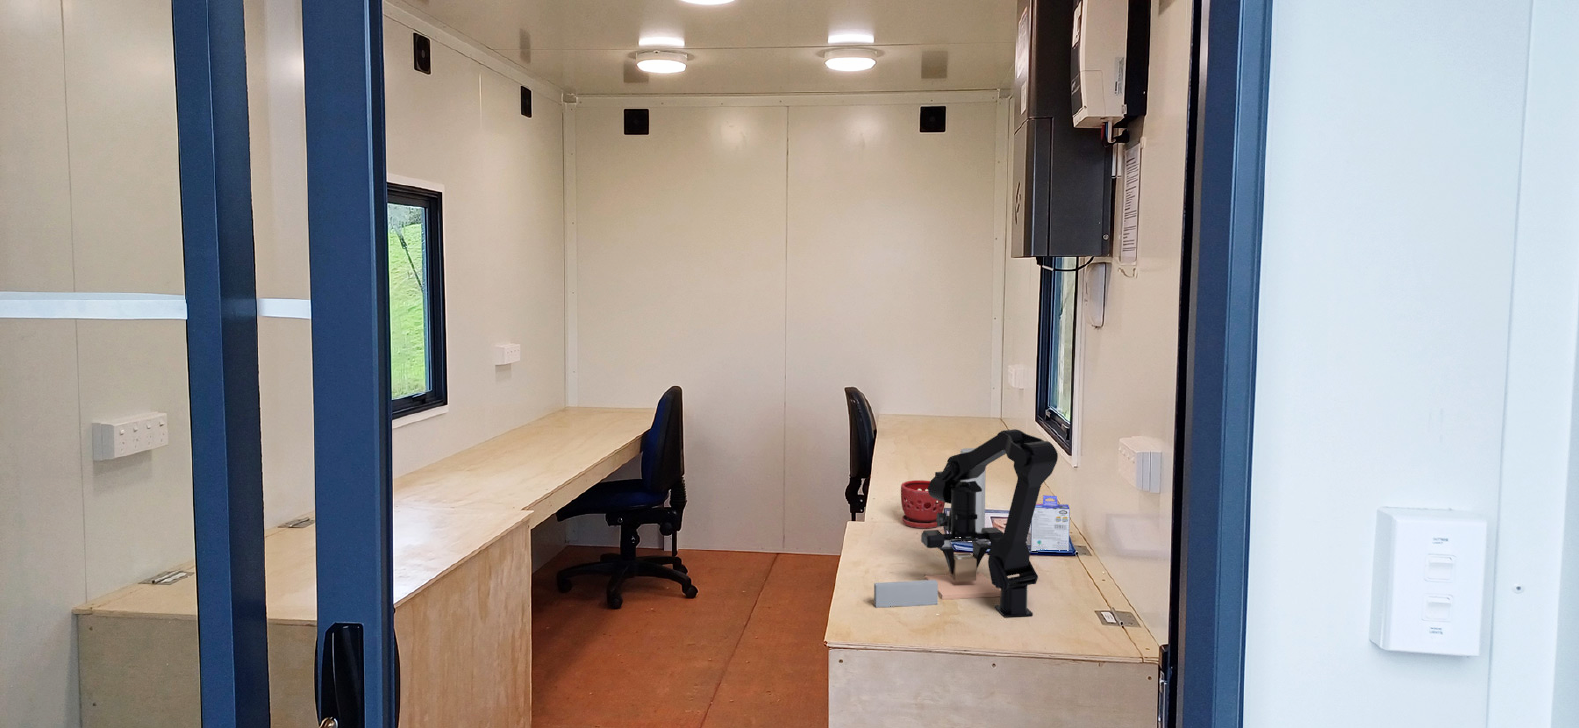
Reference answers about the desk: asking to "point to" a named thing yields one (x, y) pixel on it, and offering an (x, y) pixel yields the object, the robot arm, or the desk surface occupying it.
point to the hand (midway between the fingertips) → (962, 573)
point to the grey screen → (906, 593)
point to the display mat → (964, 587)
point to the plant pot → (919, 505)
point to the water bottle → (978, 497)
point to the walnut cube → (964, 567)
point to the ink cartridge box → (1050, 526)
